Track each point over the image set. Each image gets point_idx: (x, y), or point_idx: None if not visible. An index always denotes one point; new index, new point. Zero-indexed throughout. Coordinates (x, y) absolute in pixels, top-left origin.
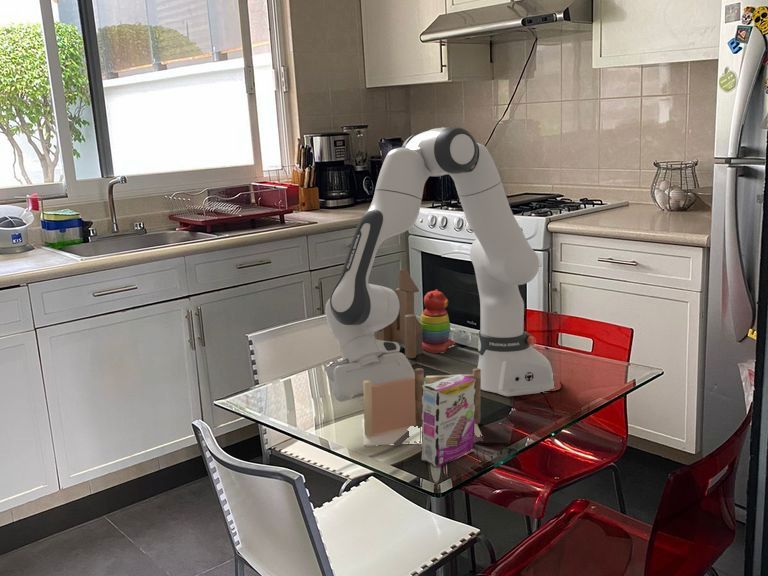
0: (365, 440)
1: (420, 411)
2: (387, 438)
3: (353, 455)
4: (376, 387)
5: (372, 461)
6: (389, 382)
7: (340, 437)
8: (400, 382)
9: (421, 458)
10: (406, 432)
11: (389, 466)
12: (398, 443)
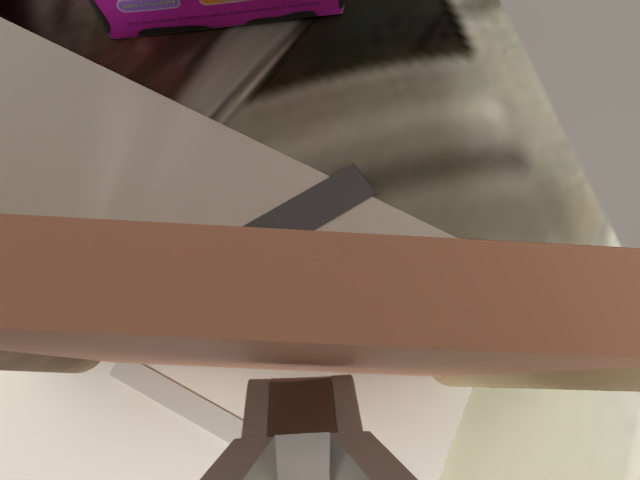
0: None
1: None
2: None
3: (594, 210)
4: (598, 251)
5: (532, 114)
6: (282, 301)
7: (596, 469)
8: (79, 222)
9: (343, 8)
10: None
11: (484, 44)
12: (348, 181)
